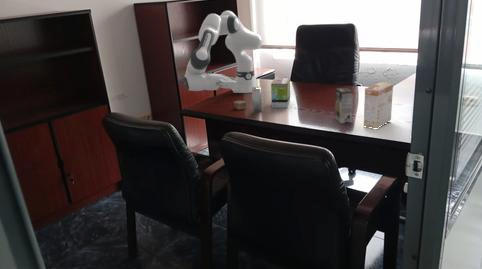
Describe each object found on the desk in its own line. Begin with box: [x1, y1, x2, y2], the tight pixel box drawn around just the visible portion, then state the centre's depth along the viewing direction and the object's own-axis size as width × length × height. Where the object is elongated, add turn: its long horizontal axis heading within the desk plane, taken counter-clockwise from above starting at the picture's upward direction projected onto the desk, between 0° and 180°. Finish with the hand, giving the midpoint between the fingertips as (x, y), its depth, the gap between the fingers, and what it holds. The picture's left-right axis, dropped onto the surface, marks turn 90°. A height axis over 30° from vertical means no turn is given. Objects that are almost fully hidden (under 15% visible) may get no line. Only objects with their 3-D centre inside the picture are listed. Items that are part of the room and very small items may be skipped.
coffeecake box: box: [363, 81, 394, 129], centre depth 194 cm, size 15×7×20 cm, turn 133°
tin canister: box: [251, 86, 263, 114], centre depth 228 cm, size 5×5×14 cm
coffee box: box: [334, 87, 354, 124], centre depth 204 cm, size 9×6×16 cm
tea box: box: [270, 77, 291, 109], centre depth 239 cm, size 15×10×15 cm, turn 168°
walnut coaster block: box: [233, 100, 247, 111], centre depth 239 cm, size 5×5×4 cm
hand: (237, 80), depth 220 cm, fingers open, 8 cm apart
